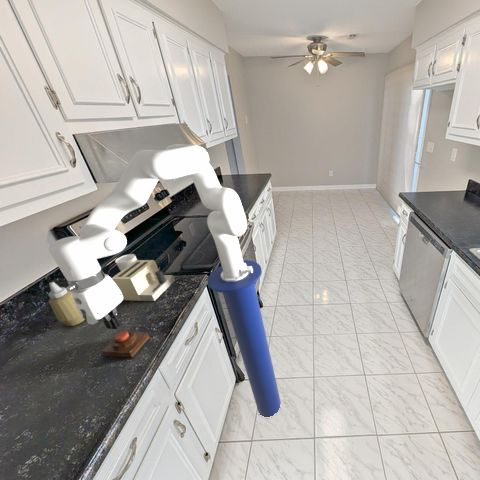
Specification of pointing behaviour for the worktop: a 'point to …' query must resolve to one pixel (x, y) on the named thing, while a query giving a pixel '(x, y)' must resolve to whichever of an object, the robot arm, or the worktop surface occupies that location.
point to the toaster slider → (160, 277)
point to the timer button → (122, 336)
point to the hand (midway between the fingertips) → (114, 326)
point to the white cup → (125, 261)
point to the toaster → (141, 281)
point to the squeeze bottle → (64, 305)
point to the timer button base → (126, 345)
